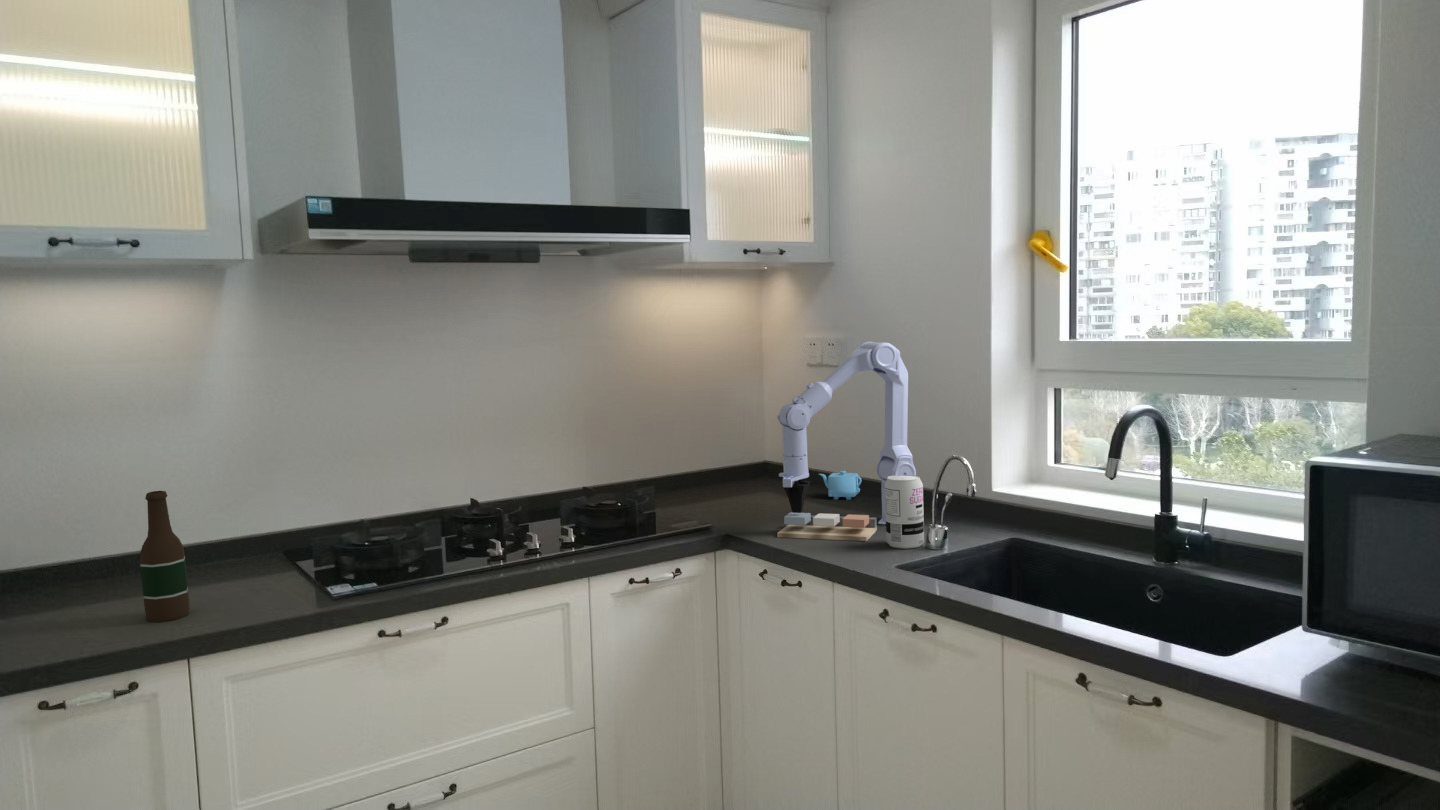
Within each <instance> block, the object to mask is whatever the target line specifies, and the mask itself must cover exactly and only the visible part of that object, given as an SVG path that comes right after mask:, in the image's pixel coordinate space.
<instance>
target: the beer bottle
mask: <svg viewBox="0 0 1440 810" xmlns="http://www.w3.org/2000/svg"><path fill="white" fill-rule="evenodd" d="M167 497H168V494H167V492H166V490H153V491H149V492H146V493H145V498H144V500H146V501H147V525H148V526H147V527H148V529H147V537H146V538H145V539H144V542H143V544H142V546H141V548H140V549H141V550H140V553H139V567H140V577H141V578H140V579H141V586H142V596H143V605H144V615H145V619H146V621H147V622H151V623H152V622H153V623H162V622H163V623H164V622H170V621H176V620H179V619H183V618H184V617H187V616H189V614H190V613H189V612H190V595H189V585H188V573H187V563H186V555H185V549H184V545H183V544H182V542H181V540H180V538H179V537H178V536H177V535H176V534H175V533H174V532H173V528H172V525H171V520H170V514H169V508H168V503H167Z"/></svg>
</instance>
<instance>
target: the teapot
mask: <svg viewBox="0 0 1440 810" xmlns="http://www.w3.org/2000/svg"><path fill="white" fill-rule="evenodd" d="M818 475H819V476H821V477H822V479H823V483H824V484H825V487H826V489H827V490H828V493H827V494H828V497H830V498H831V497H833V498H832V500H839V499H840V498H841V497H842V498H845V499H846V501H850V500H852V498H855V497H856V496H857V495H859V493H860V491H861V488H860V485H861V483H862V481H863V480H862V477H860V476H859V473H857V472H847V471H846V470H840V471H839V472H832V473H830V474H829V475H828V476H826V474H824V473H818Z"/></svg>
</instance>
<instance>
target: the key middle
mask: <svg viewBox="0 0 1440 810" xmlns="http://www.w3.org/2000/svg"><path fill="white" fill-rule="evenodd" d="M839 522H840V513H822V512H821V513H817V514H816V516H815V517H814V518H813V526H835V525H836V524H838V523H839Z"/></svg>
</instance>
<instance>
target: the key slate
mask: <svg viewBox="0 0 1440 810" xmlns="http://www.w3.org/2000/svg"><path fill="white" fill-rule="evenodd" d="M811 514H812V513H811V512H801V513H792V511H791V512H789V513H787V514H786V515H785V516H783V523H784V524H783V525H786V526H787V525H806V524H807V523H808V522H810V521H811Z"/></svg>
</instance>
